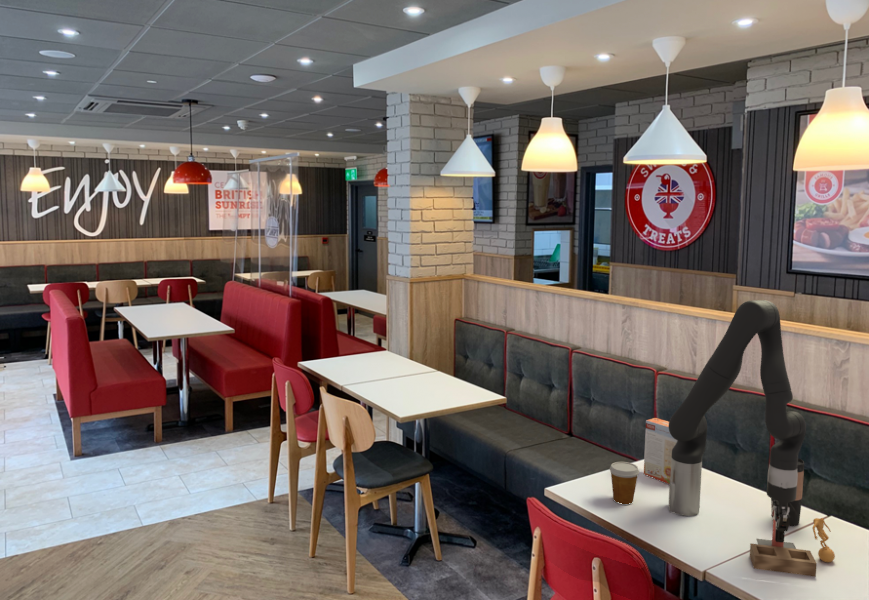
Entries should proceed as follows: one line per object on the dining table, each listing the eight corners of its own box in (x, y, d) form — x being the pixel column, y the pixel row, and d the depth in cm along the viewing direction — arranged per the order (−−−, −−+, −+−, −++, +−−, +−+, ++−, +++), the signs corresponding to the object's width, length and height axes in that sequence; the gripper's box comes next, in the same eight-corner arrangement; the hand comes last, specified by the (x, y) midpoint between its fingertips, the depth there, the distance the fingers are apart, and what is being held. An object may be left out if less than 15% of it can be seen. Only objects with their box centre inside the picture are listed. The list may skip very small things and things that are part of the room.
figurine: (826, 569, 185) (829, 527, 184) (803, 560, 190) (806, 519, 189) (840, 559, 190) (843, 519, 189) (817, 551, 195) (821, 511, 194)
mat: (760, 552, 194) (761, 551, 194) (756, 539, 202) (756, 538, 202) (799, 557, 192) (800, 556, 192) (793, 543, 199) (793, 542, 199)
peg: (772, 548, 196) (775, 517, 195) (770, 543, 199) (772, 512, 197) (784, 550, 195) (786, 518, 194) (782, 545, 198) (784, 514, 197)
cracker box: (686, 483, 243) (689, 426, 240) (675, 487, 239) (678, 429, 236) (653, 471, 254) (656, 416, 251) (642, 474, 251) (645, 419, 248)
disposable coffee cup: (626, 493, 235) (627, 459, 233) (644, 504, 226) (645, 469, 224) (602, 497, 231) (603, 463, 230) (619, 508, 222) (621, 473, 221)
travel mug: (803, 528, 209) (808, 465, 206) (776, 526, 210) (780, 463, 208) (795, 517, 216) (800, 456, 214) (769, 515, 218) (773, 454, 215)
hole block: (753, 569, 185) (754, 555, 185) (749, 556, 192) (750, 543, 192) (815, 577, 181) (816, 563, 181) (809, 564, 188) (810, 550, 187)
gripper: (763, 470, 202) (759, 526, 204) (772, 489, 188) (768, 548, 191) (791, 473, 200) (787, 529, 202) (802, 492, 186) (798, 552, 189)
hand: (778, 538), depth 196 cm, fingers closed on peg, 3 cm apart
